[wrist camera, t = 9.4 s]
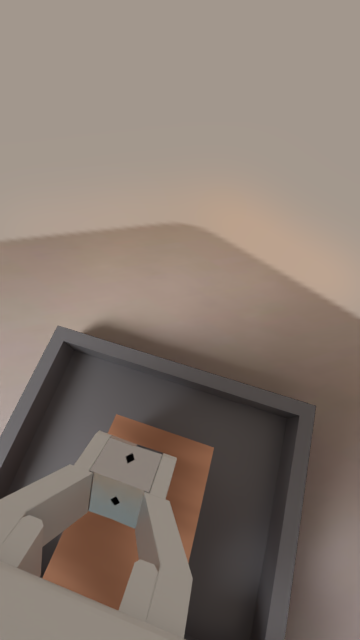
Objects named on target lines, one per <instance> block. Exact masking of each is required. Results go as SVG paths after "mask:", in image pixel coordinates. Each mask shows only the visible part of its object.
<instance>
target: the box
mask: <svg viewBox="0 0 360 640" xmlns="http://www.w3.org/2000/svg"><path fill="white" fill-rule="evenodd" d="M315 410H316V406H315V405H312V404H308V403H305V402H302V401H299V400H295V399H292V398H289V397H286V396H283V395H279V394H276V393H273V392H270V391H267V390H263V389H260V388H257V387H254V386H250V385H247V384H244V383H241V382H238V381H234V380H231V379H228V378H225V377H222V376H218V375H215V374H212V373H209V372H205V371H202V370H199V369H196V368H193V367H189V366H186V365H183V364H180V363H177V362H173V361H170V360H167V359H164V358H160V357H157V356H154V355H151V354H148V353H144V352H141V351H138V350H135V349H132V348H128V347H125V346H122V345H119V344H115V343H112V342H109V341H106V340H103V339H99V338H96V337H93V336H90V335H87V334H83V333H80V332H77V331H74V330H71V329H67V328H64V327H61V326H57V328H56V330H55V332H54V334H53V336H52V338H51V340H50V342H49V344H48V345H47V347H46V349H45V351H44V353H43V355H42V357H41V359H40V361H39V363H38V365H37V367H36V369H35V371H34V373H33V375H32V377H31V378H30V380H29V382H28V384H27V386H26V388H25V390H24V392H23V394H22V396H21V398H20V400H19V402H18V404H17V406H16V408H15V410H14V411H13V413H12V415H11V417H10V419H9V421H8V423H7V425H6V427H5V429H4V431H3V433H2V435H1V437H0V499H2V498H4V497H6V496H8V495H10V494H12V493H14V492H16V491H18V490H20V489H22V488H24V487H26V486H28V485H30V484H32V483H34V482H36V481H38V480H40V479H42V478H44V477H46V476H48V475H50V474H52V473H54V472H56V471H58V470H59V469H61V468H63V467H65V466H67V465H69V464H71V465H75V463H76V462H77V460H78V459H79V457H80V456H81V454H82V453H83V451H84V450H85V448H86V447H87V446H88V444H89V443H90V441H91V440H92V438H93V437H94V435H95V434H96V433H97V432H98V431H99V430H100V431H102V432H105V433H108V431H109V429H110V427H111V425H112V423H113V420H114V418H115V416H116V414H117V415H120V416H123V417H126V418H129V419H132V420H135V421H138V422H141V423H144V424H147V425H150V426H153V427H155V428H158V429H161V430H164V431H167V432H170V433H173V434H176V435H179V436H182V437H185V438H188V439H190V440H193V441H196V442H199V443H202V444H205V445H208V446H211V447H214V450H213V455H212V459H211V464H210V468H209V473H208V477H207V482H206V486H205V491H204V495H203V500H202V504H201V509H200V513H199V518H198V522H197V527H196V531H195V536H194V540H193V545H192V549H191V554H190V558H189V563H188V564H189V568H190V571H191V574H192V578H193V581H192V587H191V594H190V601H189V607H188V614H187V620H186V627H185V634H184V639H186V640H285V633H286V626H287V618H288V611H289V603H290V596H291V588H292V581H293V573H294V566H295V559H296V551H297V544H298V536H299V529H300V521H301V514H302V506H303V499H304V492H305V484H306V477H307V469H308V462H309V454H310V447H311V439H312V432H313V425H314V417H315ZM62 533H63V532H61V533H60V534H59V535H57V536H56V537H55V538H53V539H52V540H51V541H50V542H48V543H47V544H46V545H44V546H43V547H42V563H41V575H40V578H43V575H44V573H45V571H46V569H47V566H48V564H49V562H50V560H51V558H52V555H53V553H54V551H55V549H56V547H57V544H58V542H59V540H60V538H61V535H62Z"/></svg>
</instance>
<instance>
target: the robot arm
mask: <svg viewBox="0 0 360 640" xmlns="http://www.w3.org/2000/svg"><path fill="white" fill-rule="evenodd" d="M176 461H177V458H176V457H173V456H171V455H168V454H165V453H164V454H163V453H162V452H159V451H156V450H153V449H150V448H147V447H144V446H141V445H138V444H135V443H132V442H129V441H127V440H124V439H121V438H119V437H116V436H113V435H110V434H108V433H105V432H102V431H100V430H99V431H98V432H97V433H96V434H95V435H94V437H93V438H92V440H91V441H90V443H89V444H88V446H87V447H86V448H85V450H84V451H83V453H82V454H81V456H80V457H79V459H78V460H77V462H76V463H75V465H71V464H69V465H67V466H65V467H63V468H61V469H59V470H58V471H56V472H54V473H52V474H50V475H48V476H46V477H44V478H42V479H40V480H38V481H36V482H34V483H32V484H30V485H28V486H26V487H24V488H22V489H20V490H18V491H16V492H14V493H12V494H10V495H8V496H6V497H4V498H2V499H0V640H186V639H184V634H185V627H186V620H187V614H188V607H189V601H190V594H191V587H192V581H193V578H192V574H191V571H190V568H189V564H188V561H187V558H186V554H185V551H184V548H183V544H182V541H181V538H180V534H179V531H178V527H177V524H176V521H175V517H174V514H173V511H172V507H171V504H170V501H168V500H166V496H167V492H168V489H169V485H170V482H171V478H172V475H173V471H174V468H175V464H176ZM88 511H90V512H93V513H96V514H99V515H102V516H104V517H107V518H110V519H113V520H115V521H117V522H120V523H122V524H125V525H127V526H129V527H132V528H134V529H135V535H136V542H137V550H138V558H139V560H138V561H136V562H135V563H134V566H133V569H132V572H131V575H130V578H129V581H128V584H127V587H126V590H125V593H124V596H123V599H122V602H121V604H120V607H119V610H116V609H113V608H111V607H109V606H106V605H104V604H102V603H99V602H97V601H95V600H92V599H90V598H87V597H85V596H83V595H80V594H78V593H76V592H73V591H71V590H69V589H66V588H64V587H62V586H59V585H57V584H54V583H52V582H50V581H47V580H45V579H43V578H40V575H41V563H42V547H43V546H44V545H46V544H47V543H48V542H50V541H51V540H52V539H53V538H55V537H56V536H57V535H59V534H60V533H61V532H63V531H64V530H65V529H67V528H68V527H69V526H70V525H72V524H73V523H74V522H76V521H77V520H78V519H80V518H81V517H82V516H84V515H85V514H86V513H87V512H88Z"/></svg>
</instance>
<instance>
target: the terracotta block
mask: <svg viewBox="0 0 360 640" xmlns="http://www.w3.org/2000/svg"><path fill="white" fill-rule="evenodd" d="M108 434H110V435H113V436H116V437H119V438H121V439H124V440H127V441H129V442H132V443H135V444H138V445H141V446H144V447H147V448H150V449H153V450H156V451H159V452H162V453H163V454H164V453H165V454H168V455H171V456H173V457H176V458H177V461H176V464H175V468H174V471H173V475H172V478H171V482H170V485H169V489H168V492H167V496H166V500H168V501H170V504H171V507H172V511H173V514H174V517H175V521H176V524H177V527H178V531H179V534H180V538H181V541H182V544H183V548H184V551H185V554H186V558H187V561H188V563H189V558H190V554H191V549H192V545H193V540H194V536H195V531H196V527H197V522H198V518H199V513H200V509H201V504H202V500H203V495H204V491H205V486H206V482H207V477H208V473H209V468H210V464H211V459H212V455H213V450H214V447H211V446H208V445H205V444H202V443H199V442H196V441H193V440H190V439H188V438H185V437H182V436H179V435H176V434H173V433H170V432H167V431H164V430H161V429H158V428H155V427H153V426H150V425H147V424H144V423H141V422H138V421H135V420H132V419H129V418H126V417H123V416H120V415H117V414H116V416H115V418H114V420H113V423H112V425H111V427H110V429H109V431H108ZM138 560H139V558H138V550H137V542H136V535H135V529H134V528H132V527H129V526H127V525H125V524H122V523H120V522H117V521H115V520H113V519H110V518H107V517H104V516H102V515H99V514H96V513H93V512H90V511H88V512H87V513H86V514H85V515H84V516H82V517H81V518H80V519H78V520H77V521H76V522H74V523H73V524H72V525H70V526H69V527H68V528H67V529H65V530H64V531H63V533H62V535H61V538H60V540H59V542H58V544H57V547H56V549H55V551H54V553H53V555H52V558H51V560H50V562H49V564H48V566H47V569H46V571H45V573H44V575H43V579H45V580H47V581H50V582H52V583H54V584H57V585H59V586H62V587H64V588H66V589H69V590H71V591H73V592H76V593H78V594H80V595H83V596H85V597H87V598H90V599H92V600H95V601H97V602H99V603H102V604H104V605H106V606H109V607H111V608H113V609H116V610H119V607H120V604H121V602H122V599H123V596H124V593H125V590H126V587H127V584H128V581H129V578H130V575H131V572H132V569H133V566H134V563H135V562H136V561H138Z"/></svg>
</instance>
